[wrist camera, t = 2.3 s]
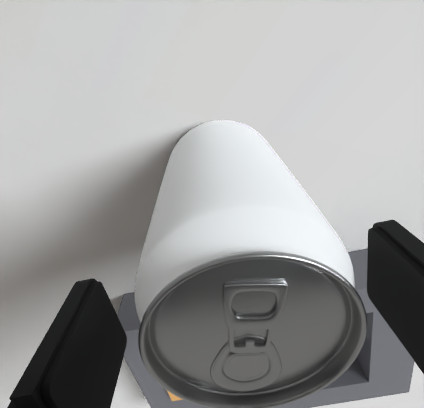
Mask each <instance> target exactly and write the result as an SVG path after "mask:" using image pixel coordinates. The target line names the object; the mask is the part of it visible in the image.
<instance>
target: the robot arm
mask: <svg viewBox="0 0 424 408" xmlns="http://www.w3.org/2000/svg"><path fill="white" fill-rule="evenodd" d="M367 294H368V296H369V299H370V300H371V302H372V303H373V304H374V306H375V307H376V309H377V310H378V311H379V313H380V314H381V316H382V317H383V318H384V320H385V321H386V322H387V324H388V325H389V327H390V328H391V329H392V331H393V332H394V333H395V335H396V336H397V338H398V339H399V340H400V342H401V343H402V344H403V346H404V347H405V349H406V350H407V351H408V353H409V354H410V356H411V357H412V358H413V360H414V361H415V362H416V364H417V365H418V367H419V368H420V369H421V371H422V372H423V373H424V243H423V242H421V241H420V240H419V239H418V238H416V237H415V236H414V235H413V234H411V233H410V232H409V231H408V230H406V229H405V228H404V227H403V226H401V225H400V224H399V223H398V222H396V221H395V220H389V221H384V222H379V223H375V224H374V225H373V228H371V229H369V231H368V260H367ZM126 345H127V336H126V333H125V331H124V329H123V327H122V325H121V322H120V320H119V318H118V316H117V314H116V312H115V310H114V308H113V306H112V304H111V301H110V299H109V297H108V295H107V293H106V291H105V289H104V287H103V285H102V283H101V282H97V281H96V280H95V279H88V280H82V281H78V282H76V283H75V284H74V286H73V288H72V290H71V291H70V293H69V295H68V297H67V298H66V300H65V302H64V304H63V305H62V307H61V309H60V311H59V312H58V314H57V316H56V318H55V319H54V321H53V323H52V325H51V326H50V328H49V330H48V332H47V333H46V335H45V337H44V339H43V340H42V342H41V344H40V346H39V347H38V349H37V351H36V353H35V354H34V356H33V358H32V360H31V361H30V363H29V365H28V367H27V368H26V370H25V372H24V374H23V375H22V377H21V379H20V381H19V382H18V384H17V386H16V388H15V389H14V391H13V393H12V395H11V396H10V398H9V399H10V400H11V402H10V404H9V406H8V408H110V406H111V402H112V398H113V395H114V391H115V387H116V383H117V379H118V375H119V372H120V368H121V364H122V360H123V356H124V353H125V349H126Z"/></svg>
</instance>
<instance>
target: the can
mask: <svg viewBox="0 0 424 408" xmlns="http://www.w3.org/2000/svg"><path fill="white" fill-rule="evenodd" d="M134 295H135V305H136V310H137V314H138V317H139V320H140V323H141V324H140V328H139V335H138V345H139V352H140V356H141V359H142V361H143V364H144V366H145V367H146V369H147V371H148V372H149V374H150V375H151V376H152V377H153V378H154V380H155V381H156V382H157V383H158V384H160V385H161V386H162V387H163V388H164V389H166V390H167V391H169V392H170V393H172V394H173V395H175V396H177V397H179V398H181V399H183V400H186V401H188V402H191V403H194V404H197V405H200V406H204V407H208V408H273V407H278V406H282V405H286V404H289V403H292V402H295V401H298V400H301V399H303V398H306V397H308V396H310V395H312V394H314V393H316V392H318V391H320V390H322V389H323V388H325V387H326V386H328V385H329V384H331V383H332V382H333V381H335V380H336V379H337V378H338V377H340V376H341V375H342V374H343V373H344V372H345V371H346V370H347V369H348V368H349V367H350V365H351V364H352V363H353V362H354V360H355V359H356V357H357V356H358V354H359V352H360V350H361V348H362V346H363V343H364V340H365V337H366V332H367V315H366V310H365V307H364V304H363V302H362V299H361V297H360V296H359V294H358V292H357V291H356V289H355V280H354V271H353V266H352V262H351V259H350V256H349V254H348V252H347V250H346V248H345V246H344V244H343V242H342V241H341V239H340V238H339V236H338V235H337V233H336V232H335V230H334V229H333V227H332V226H331V225H330V223H329V222H328V221H327V219H326V218H325V217H324V215H323V214H322V213H321V211H320V210H319V208H318V207H317V206H316V205H315V203H314V202H313V201H312V199H311V198H310V197H309V195H308V194H307V193H306V191H305V190H304V189H303V187H302V186H301V185H300V183H299V182H298V181H297V180H296V178H295V177H294V176H293V174H292V173H291V172H290V170H289V169H288V168H287V166H286V165H285V164H284V163H283V161H282V160H281V159H280V157H279V156H278V155H277V154H276V152H275V151H274V150H273V148H272V147H271V146H270V145H269V143H268V142H267V141H266V140H265V139H264V138H263V137H262V136H261V135H260V134H259V133H258V132H257V131H256V130H254V129H253V128H251V127H249V126H247V125H245V124H243V123H240V122H236V121H231V120H215V121H210V122H206V123H203V124H200V125H198V126H196V127H194V128H193V129H191V130H190V131H188V132H187V133H186V134H185V135H184V136H183V137H182V138H181V139H180V140H179V141H178V143H177V144H176V146H175V147H174V149H173V151H172V153H171V155H170V158H169V161H168V164H167V167H166V171H165V174H164V177H163V181H162V184H161V187H160V191H159V194H158V198H157V201H156V205H155V208H154V212H153V215H152V218H151V222H150V225H149V229H148V232H147V236H146V240H145V243H144V247H143V250H142V254H141V258H140V262H139V266H138V270H137V275H136V281H135V293H134Z"/></svg>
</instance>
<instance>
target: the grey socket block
mask: <svg viewBox="0 0 424 408" xmlns="http://www.w3.org/2000/svg"><path fill="white" fill-rule="evenodd" d="M348 254H349V256H350V259H351V262H352V266H353V271H354V280H355V289H356V291H357V292H358V294H359V296H360V297H361V299H362V302H363V304H364V307H365V310H366V315H367V332H366V337H365V340H364V343H363V346H362V348H361V350H360V352H359V354H358V356H357V357H356V359H355V360H354V362H353V363H352V364H351V365H350V367H349V368H348V369H347V370H346V371H345V372H344V373H343V374H342V375H341V376H340V377H338V378H337V379H336V380H335V381H333V382H332V383H331V384H329V385H328V386H326V387H325V388H323V389H322V390H320V391H318V392H316V393H314V394H312V395H310V396H308V397H306V398H303V399H301V400H298V401H295V402H292V403H289V404H286V405H282V406H278V407H273V408H311V407H317V406H323V405H330V404H336V403H343V402H349V401H355V400H362V399H368V398H374V397H381V396H387V395H394V394H400V393H406V392H409V389H410V383H411V377H412V372H413V366H414V360H413V358H412V357H411V356H410V354H409V353H408V351H407V350H406V349H405V347H404V346H403V344H402V343H401V342H400V340H399V339H398V338H397V336H396V335H395V333H394V332H393V331H392V329H391V328H390V327H389V325H388V324H387V322H386V321H385V320H384V318H383V317H382V316H381V314H380V313H379V311H378V310H377V309H376V307H375V306H374V304H373V303H372V302H371V300H370V299H369V296H368V294H367V260H368V249H364V250H359V251H354V252H348ZM134 293H135V292H134ZM134 293H129V294H124V296H123V299H122V302H121V305H120V308H119V312H118V315H117V316H118V318H119V320H120V322H121V325H122V327H123V329H124V331H125V333H126V336H127V345H126V349H125V353H124V358H125V360H126V362H127V364H128V366H129V368H130V369H131V371H132V373H133V375H134V377H135V379H136V381H137V382H138V384H139V386H140V388H141V390H142V392H143V394H144V395H145V397H146V399H147V401H148V403H149V405H150V407H151V408H208V407H204V406H200V405H197V404H194V403H191V402H188V401H186V400H183V399H181V398H179V397H177V396H175V395H173V394H172V393H170V392H169V391H167V390H166V389H164V388H163V387H162V386H161V385H160V384H158V383H157V382H156V381H155V380H154V378H153V377H152V376H151V375H150V374H149V372H148V371H147V369H146V367H145V366H144V364H143V361H142V359H141V356H140V352H139V345H138V335H139V328H140V324H141V323H140V320H139V317H138V314H137V310H136V305H135V295H134Z"/></svg>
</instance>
